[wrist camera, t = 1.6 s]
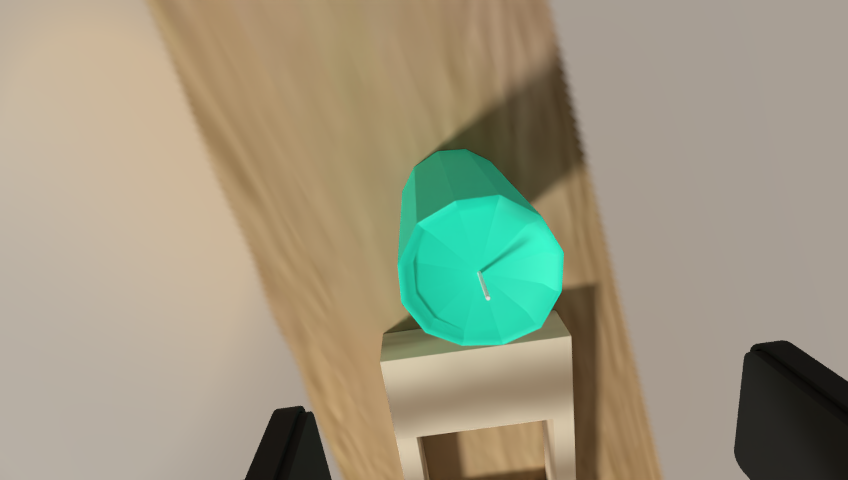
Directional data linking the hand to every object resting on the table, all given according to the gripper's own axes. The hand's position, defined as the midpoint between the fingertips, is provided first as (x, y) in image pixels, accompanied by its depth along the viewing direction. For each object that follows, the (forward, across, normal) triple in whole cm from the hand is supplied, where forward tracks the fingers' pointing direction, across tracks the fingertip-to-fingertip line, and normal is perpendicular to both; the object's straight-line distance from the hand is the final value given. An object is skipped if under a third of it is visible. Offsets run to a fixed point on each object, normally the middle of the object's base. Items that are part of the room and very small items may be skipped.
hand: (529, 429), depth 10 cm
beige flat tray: (+18, 0, +17) cm, 25 cm away
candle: (+17, 0, -1) cm, 17 cm away
